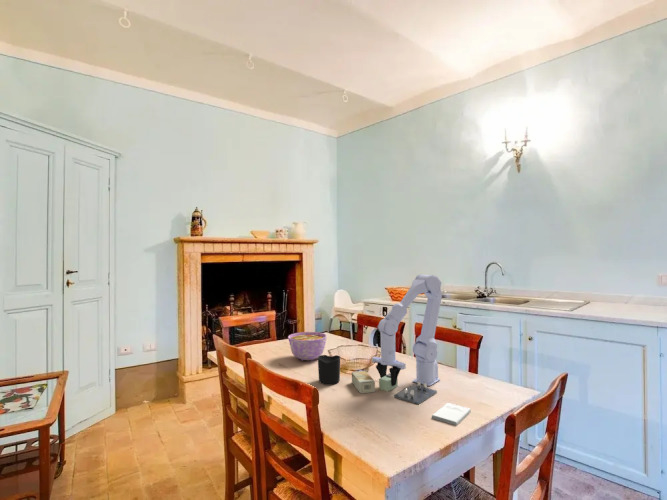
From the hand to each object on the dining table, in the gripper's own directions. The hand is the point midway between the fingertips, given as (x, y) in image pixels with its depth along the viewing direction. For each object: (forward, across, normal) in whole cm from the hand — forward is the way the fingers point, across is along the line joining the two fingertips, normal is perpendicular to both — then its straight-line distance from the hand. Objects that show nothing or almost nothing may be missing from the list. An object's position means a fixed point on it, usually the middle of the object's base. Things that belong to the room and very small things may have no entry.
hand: (388, 383), depth 143 cm
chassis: (+1, +12, 0) cm, 12 cm away
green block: (+1, 0, 0) cm, 1 cm away
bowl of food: (+2, -54, +7) cm, 54 cm away
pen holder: (+2, -23, -10) cm, 25 cm away
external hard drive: (+2, +29, -7) cm, 30 cm away
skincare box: (-1, -3, -10) cm, 10 cm away
